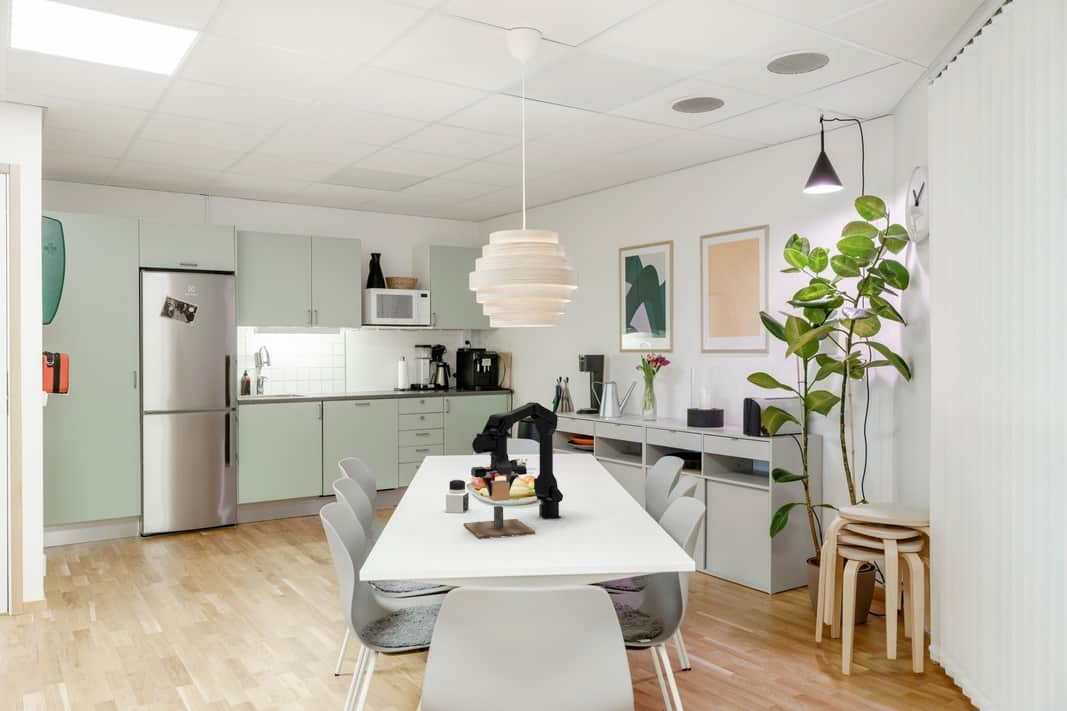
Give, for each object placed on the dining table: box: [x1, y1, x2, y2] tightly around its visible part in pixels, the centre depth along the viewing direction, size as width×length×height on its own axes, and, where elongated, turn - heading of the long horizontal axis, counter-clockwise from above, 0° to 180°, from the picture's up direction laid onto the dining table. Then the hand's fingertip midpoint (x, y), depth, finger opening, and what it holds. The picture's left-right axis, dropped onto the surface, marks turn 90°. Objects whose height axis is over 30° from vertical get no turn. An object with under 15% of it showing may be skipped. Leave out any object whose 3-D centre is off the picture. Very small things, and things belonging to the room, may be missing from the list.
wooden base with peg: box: [463, 505, 536, 540], centre depth 270 cm, size 20×20×8 cm
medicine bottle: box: [445, 479, 470, 514], centre depth 301 cm, size 7×7×12 cm
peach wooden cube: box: [488, 479, 511, 502], centre depth 270 cm, size 6×6×6 cm
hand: (499, 495), depth 270 cm, fingers closed on peach wooden cube, 6 cm apart
